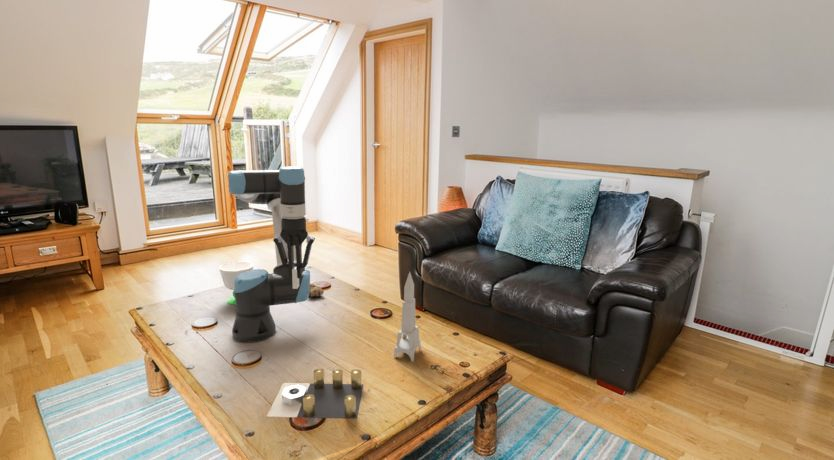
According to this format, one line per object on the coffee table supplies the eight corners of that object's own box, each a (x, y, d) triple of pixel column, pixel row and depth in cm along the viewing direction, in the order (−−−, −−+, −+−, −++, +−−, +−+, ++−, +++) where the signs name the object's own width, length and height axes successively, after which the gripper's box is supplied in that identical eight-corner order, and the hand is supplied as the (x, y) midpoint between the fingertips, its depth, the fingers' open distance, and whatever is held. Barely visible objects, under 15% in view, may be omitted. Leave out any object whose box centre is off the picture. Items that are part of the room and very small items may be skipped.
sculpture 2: (420, 350, 159) (423, 268, 152) (413, 361, 151) (415, 276, 144) (402, 346, 161) (404, 266, 154) (394, 357, 153) (395, 273, 146)
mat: (266, 418, 120) (266, 416, 120) (283, 384, 136) (283, 382, 136) (357, 420, 121) (357, 418, 121) (363, 386, 136) (363, 384, 136)
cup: (248, 307, 190) (246, 271, 186) (216, 306, 190) (213, 270, 186) (260, 295, 203) (258, 261, 200) (229, 294, 203) (227, 260, 200)
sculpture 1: (294, 288, 214) (294, 277, 213) (325, 296, 205) (325, 285, 204) (281, 293, 207) (281, 282, 206) (312, 302, 198) (312, 290, 197)
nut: (284, 408, 124) (284, 400, 123) (279, 397, 129) (279, 388, 128) (309, 401, 127) (309, 393, 127) (303, 390, 132) (303, 382, 132)
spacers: (302, 417, 120) (301, 400, 119) (315, 383, 136) (314, 368, 135) (355, 418, 121) (355, 401, 119) (361, 384, 136) (361, 369, 135)
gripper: (268, 218, 138) (272, 290, 144) (311, 219, 139) (313, 292, 144) (276, 213, 146) (279, 282, 151) (316, 214, 146) (318, 283, 151)
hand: (296, 287), depth 148 cm, fingers closed
